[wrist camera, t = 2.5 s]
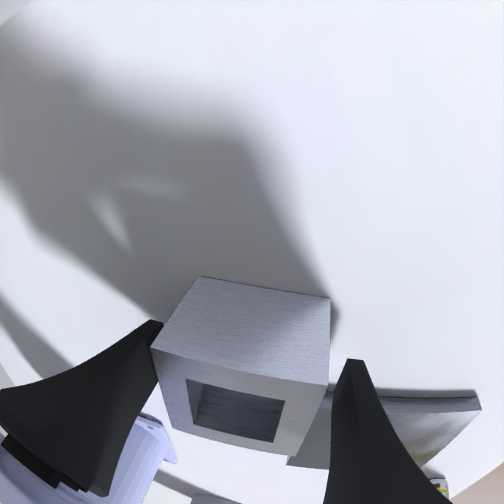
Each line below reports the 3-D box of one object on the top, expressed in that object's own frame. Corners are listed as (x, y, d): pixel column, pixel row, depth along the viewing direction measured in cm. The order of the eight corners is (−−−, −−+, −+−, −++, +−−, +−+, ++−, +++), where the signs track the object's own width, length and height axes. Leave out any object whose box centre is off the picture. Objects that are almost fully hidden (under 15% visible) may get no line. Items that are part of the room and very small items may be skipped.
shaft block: (288, 452, 17) (275, 515, 12) (314, 390, 13) (301, 483, 9) (417, 458, 15) (420, 514, 11) (477, 396, 11) (495, 468, 7)
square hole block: (203, 362, 14) (172, 428, 10) (198, 276, 11) (149, 347, 8) (306, 382, 13) (295, 456, 9) (330, 298, 11) (328, 385, 7)
